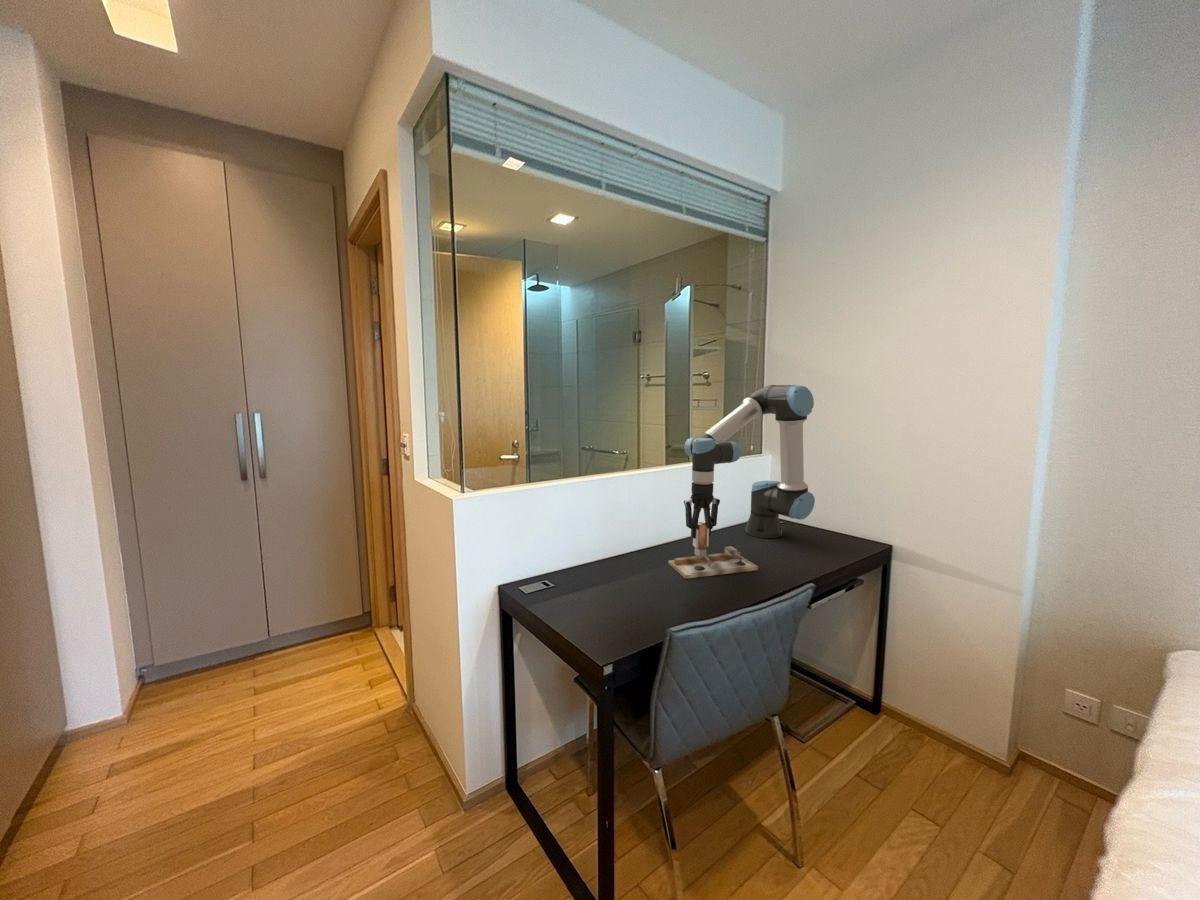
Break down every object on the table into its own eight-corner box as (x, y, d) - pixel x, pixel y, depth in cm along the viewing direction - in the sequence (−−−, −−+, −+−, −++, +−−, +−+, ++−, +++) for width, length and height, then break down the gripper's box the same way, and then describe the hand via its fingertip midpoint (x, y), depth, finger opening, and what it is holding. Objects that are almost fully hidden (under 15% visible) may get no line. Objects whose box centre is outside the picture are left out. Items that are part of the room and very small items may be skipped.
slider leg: (701, 556, 174) (702, 521, 172) (714, 566, 166) (715, 529, 164) (693, 557, 173) (694, 522, 171) (705, 567, 165) (706, 529, 163)
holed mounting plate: (736, 556, 181) (736, 543, 180) (758, 569, 167) (758, 556, 167) (668, 563, 173) (668, 550, 172) (685, 578, 160) (685, 564, 159)
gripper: (718, 478, 174) (715, 540, 177) (676, 481, 169) (675, 544, 173) (729, 482, 166) (726, 547, 170) (686, 485, 162) (684, 551, 165)
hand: (700, 545), depth 171 cm, fingers closed on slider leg, 3 cm apart
